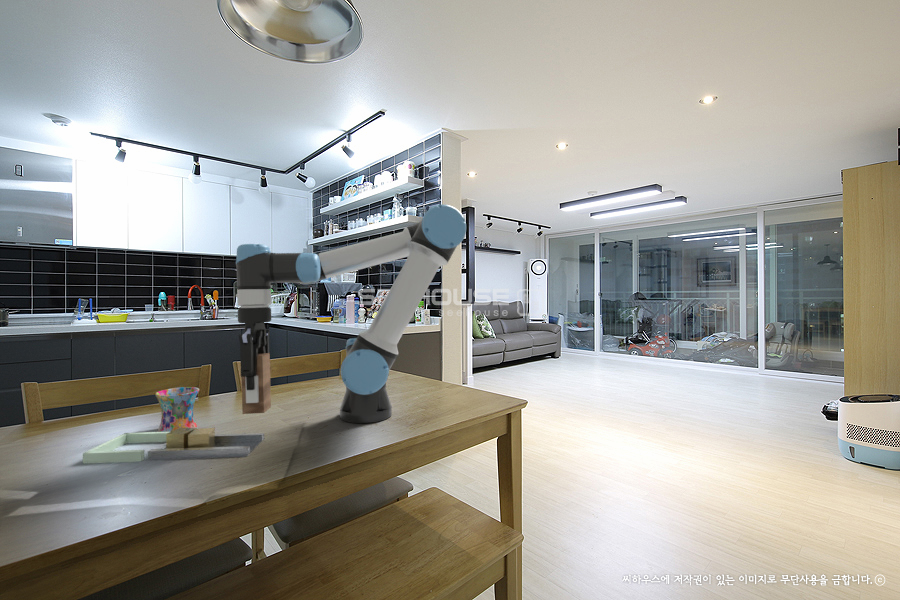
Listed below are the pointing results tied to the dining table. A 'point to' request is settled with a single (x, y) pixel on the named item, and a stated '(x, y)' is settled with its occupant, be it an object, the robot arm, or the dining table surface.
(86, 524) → the dining table surface
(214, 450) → the slot rail
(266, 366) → the block
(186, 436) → the chip
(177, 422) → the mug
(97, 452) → the tray
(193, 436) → the tan boxy piece
